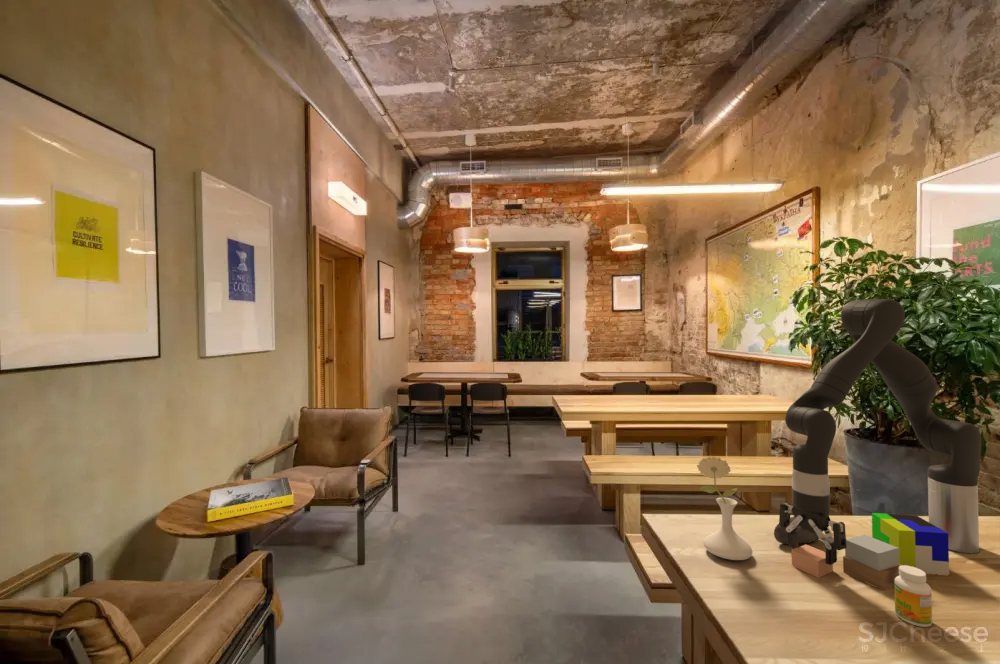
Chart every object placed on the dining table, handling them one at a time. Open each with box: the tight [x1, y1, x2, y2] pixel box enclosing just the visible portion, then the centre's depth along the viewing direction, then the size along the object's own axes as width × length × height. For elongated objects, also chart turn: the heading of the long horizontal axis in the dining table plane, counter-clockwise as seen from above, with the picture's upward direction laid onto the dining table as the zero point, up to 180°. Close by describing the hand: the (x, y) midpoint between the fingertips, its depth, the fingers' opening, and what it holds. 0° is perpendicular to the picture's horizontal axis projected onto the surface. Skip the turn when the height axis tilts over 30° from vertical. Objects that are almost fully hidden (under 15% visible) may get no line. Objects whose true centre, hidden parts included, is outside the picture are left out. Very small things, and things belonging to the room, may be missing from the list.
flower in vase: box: [696, 455, 754, 561], centre depth 114 cm, size 13×11×25 cm
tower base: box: [842, 555, 902, 591], centre depth 101 cm, size 8×8×4 cm
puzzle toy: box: [871, 512, 950, 576], centre depth 107 cm, size 10×10×10 cm
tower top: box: [844, 534, 899, 571], centre depth 102 cm, size 7×7×4 cm
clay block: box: [791, 544, 834, 578], centre depth 106 cm, size 6×6×4 cm
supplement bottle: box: [894, 565, 933, 628], centre depth 87 cm, size 5×5×10 cm
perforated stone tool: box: [773, 516, 820, 545], centre depth 119 cm, size 15×5×7 cm, turn 101°
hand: (811, 555), depth 105 cm, fingers open, 8 cm apart
